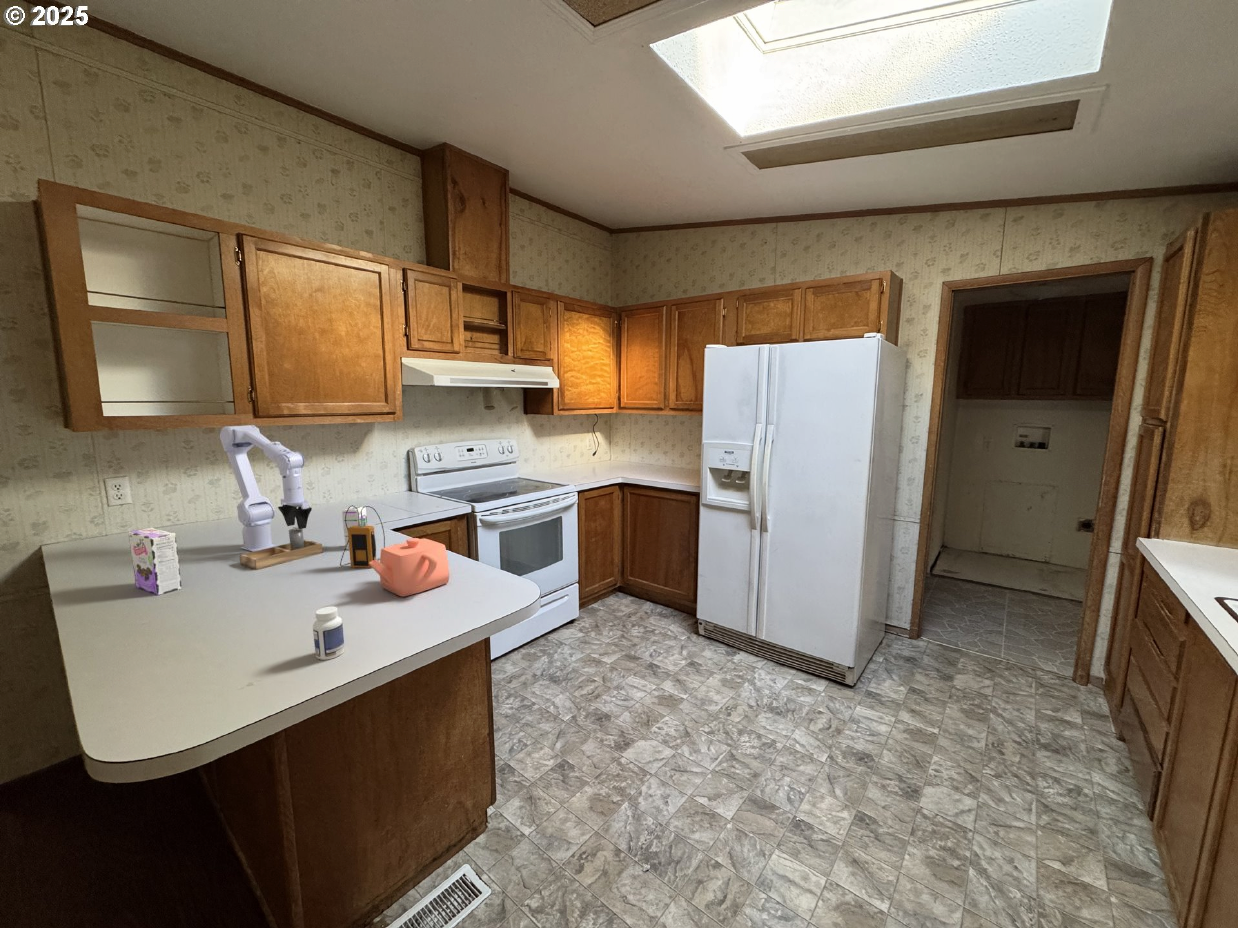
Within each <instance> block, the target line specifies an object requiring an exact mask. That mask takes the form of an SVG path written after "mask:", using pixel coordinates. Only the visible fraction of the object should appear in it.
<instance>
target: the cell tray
mask: <svg viewBox="0 0 1238 928" xmlns="http://www.w3.org/2000/svg"><path fill="white" fill-rule="evenodd" d="M322 545H323V544H322V543H320V542H316V541H313V540H309V539H304V548H300V549H296V550H292V551H291V547H290V542H288V543H285V544H284V543H283V544H281V545H280V544H279V545H277V546H275V547H271V548H267V549H262V550H258V551H254V552H252V551H250V552H247V553H241V554H239V561H240V564H241V565H242V566H244V565H245V566H244V567H247V568H251V569H253V570H261V569H266V568H270V567H273V566H277V565H281V564H285V563H288V562H292V561H297V560H300V559H304V558H308V557H311V556H316V555H319V554H323V546H322Z"/></svg>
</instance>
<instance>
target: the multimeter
mask: <svg viewBox="0 0 1238 928" xmlns="http://www.w3.org/2000/svg"><path fill="white" fill-rule="evenodd" d="M350 507H355V508H356V505H349V507H348V508H347V509H348V510H349V508H350ZM362 507H363V508H365V507H366V508H371V509H372V510H373V511H374V512H375V513H376V515H377V516H378V519H379V522H380V525H381V528H382V532H383V533H382V534H383V548H385V547H386V541H385V540H386V537H385V531H384V526H383V522H382V520H381V518H380V515H379V513H378V512H377V510H376V509H375V508H374V507H372V506H370V505H369V506H368V505H367V506H365V505H364V506H362ZM363 508H362V509H363ZM356 509H357V508H356ZM348 510H347V512H348ZM357 511H358V509H357ZM347 512H346V515H347ZM346 515H345V523H346ZM346 527H347V523H346ZM347 530H348V542H349V550H348V551H349V561H350V562H347V563H345V564H343V565H342V561H343V558H344V555H345V552H346V547H347V545H346V547H344V550H343V553H342V555H341V558H340V561H339V562H340V563H339V566H340V567H345V566H348V565H350V567H351V568H353V569H354V568H368V569H373V568H372V567H371V565H370V564H369V562H371V561H373V560H378V561H380V557H379V558H377V545H376V544H377V543H376V536H375V527H374V525H367V526H363V519H362V510H361V526H360V521H359V512H358V526H356V525H355V526H352V527H349V528H348V527H347ZM348 542H347V544H348Z"/></svg>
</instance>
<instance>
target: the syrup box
mask: <svg viewBox="0 0 1238 928" xmlns="http://www.w3.org/2000/svg"><path fill="white" fill-rule="evenodd" d="M349 507H350V506H349ZM349 507H348V508H349ZM355 507H356V508H357V509H358V511H357V509H356V508H355ZM355 507H353V506H351V507H350V508H349V510H348V508H345V509H342V510H341V516H342V526H343V527H342V528H343V534H344V535H343V536H344V545H345V547H346V545H347V547H346V550H347V551H349V542H348V530H347V527H348V528H349V527H352V526H355V525H356V526H358V512H359V521H360V526H361V510H362V519H363V526H368V517H367V516H368V515H367V509H366V508H367V507H365V506H357V505H355ZM363 507H365V508H363ZM362 508H363V509H362ZM347 510H348V512H347ZM346 512H347V515H346ZM345 515H346V523H347V527H346V523H345ZM347 542H348V544H347ZM345 547H344V548H345ZM346 550H345V551H346Z"/></svg>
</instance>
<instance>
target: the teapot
mask: <svg viewBox="0 0 1238 928" xmlns="http://www.w3.org/2000/svg"><path fill="white" fill-rule="evenodd" d="M446 549H447V548H446V545H445V544H443V543H440V542H438V541H435V540H431V539H428V538H418V537H417V538H416V537H410V538H407V539H406V541H405V542H401V543H395V544H393V545H389V546H385V548H384V547H382V548H381V550H380V556H379V558H380V560H373V561H371V562H369V564H370V565H371V567H372V568H371V569H373V570H374V571H375V572H376V574H378V576H379V579H380V580H379V581H380V584H381V587H382V589H385V590H387V592H388V591H389V592H390V593H393V594H395V595H397V596H399V597H402V598H404V597H408V596H412V595H415V594H418V593H422V592H424V591H427V590H431V589H433V588H437V587H439V586H443V585H446V584H447V583H449V580H450V567H449V558H448V554H447V550H446Z"/></svg>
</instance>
